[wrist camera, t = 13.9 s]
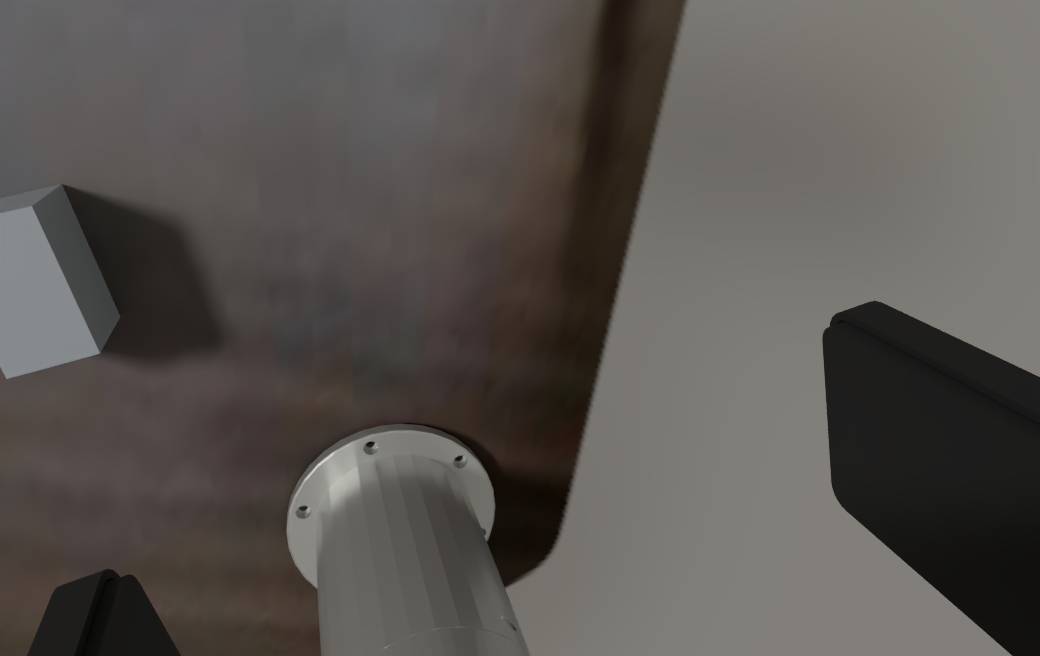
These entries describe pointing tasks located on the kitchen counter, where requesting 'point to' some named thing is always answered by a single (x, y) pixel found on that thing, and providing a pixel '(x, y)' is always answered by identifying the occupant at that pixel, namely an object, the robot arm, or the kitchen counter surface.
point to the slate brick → (48, 285)
